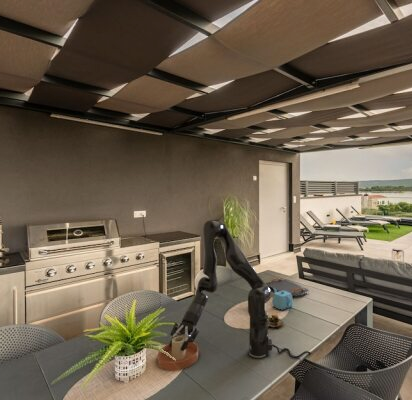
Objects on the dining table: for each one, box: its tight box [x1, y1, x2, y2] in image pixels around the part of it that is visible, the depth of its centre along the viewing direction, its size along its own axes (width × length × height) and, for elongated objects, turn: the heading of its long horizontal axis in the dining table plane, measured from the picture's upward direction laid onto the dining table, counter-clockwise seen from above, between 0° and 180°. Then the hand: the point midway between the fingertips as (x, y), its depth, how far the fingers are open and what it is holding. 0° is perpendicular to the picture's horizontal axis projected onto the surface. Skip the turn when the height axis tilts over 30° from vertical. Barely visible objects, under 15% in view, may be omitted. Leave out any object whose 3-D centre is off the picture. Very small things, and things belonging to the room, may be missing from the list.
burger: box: [268, 311, 284, 329], centre depth 166 cm, size 12×12×8 cm
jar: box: [171, 335, 186, 361], centre depth 131 cm, size 6×6×8 cm
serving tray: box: [265, 277, 310, 297], centre depth 228 cm, size 39×23×6 cm, turn 34°
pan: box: [157, 341, 200, 371], centre depth 131 cm, size 18×18×4 cm
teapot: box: [271, 288, 294, 311], centre depth 194 cm, size 12×18×12 cm
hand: (176, 348), depth 129 cm, fingers closed on jar, 6 cm apart
